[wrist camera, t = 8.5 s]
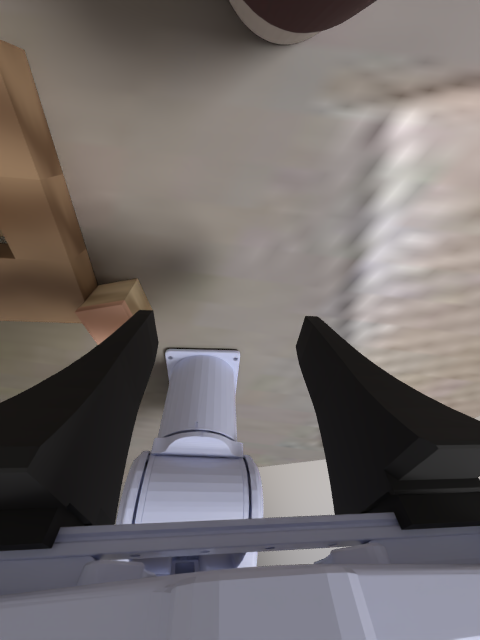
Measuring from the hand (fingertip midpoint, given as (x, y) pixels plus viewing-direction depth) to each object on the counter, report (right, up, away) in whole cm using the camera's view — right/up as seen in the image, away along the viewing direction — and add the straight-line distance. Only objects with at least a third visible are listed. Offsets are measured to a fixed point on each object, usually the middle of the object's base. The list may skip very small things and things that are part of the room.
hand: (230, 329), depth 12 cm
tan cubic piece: (-10, +2, +10) cm, 14 cm away
